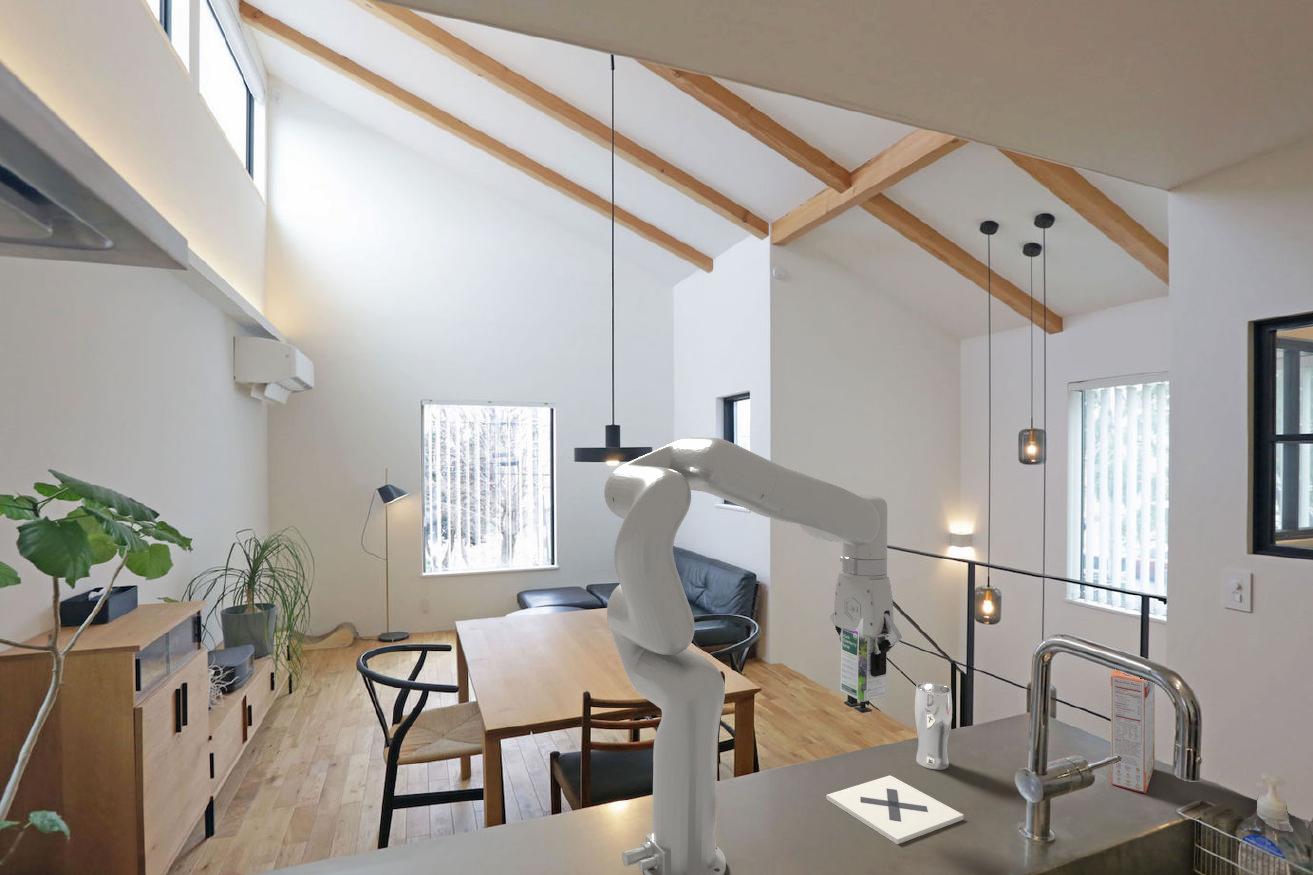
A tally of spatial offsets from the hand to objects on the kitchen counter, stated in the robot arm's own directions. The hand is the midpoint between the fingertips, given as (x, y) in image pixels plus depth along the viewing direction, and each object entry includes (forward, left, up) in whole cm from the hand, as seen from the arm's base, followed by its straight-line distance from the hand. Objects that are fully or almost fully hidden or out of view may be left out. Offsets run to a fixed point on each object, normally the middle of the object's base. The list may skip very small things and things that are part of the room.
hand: (863, 668), depth 125 cm
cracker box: (+55, -16, -24) cm, 62 cm away
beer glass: (+25, +6, -24) cm, 35 cm away
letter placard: (+4, -3, -24) cm, 25 cm away
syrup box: (0, 0, -5) cm, 5 cm away
